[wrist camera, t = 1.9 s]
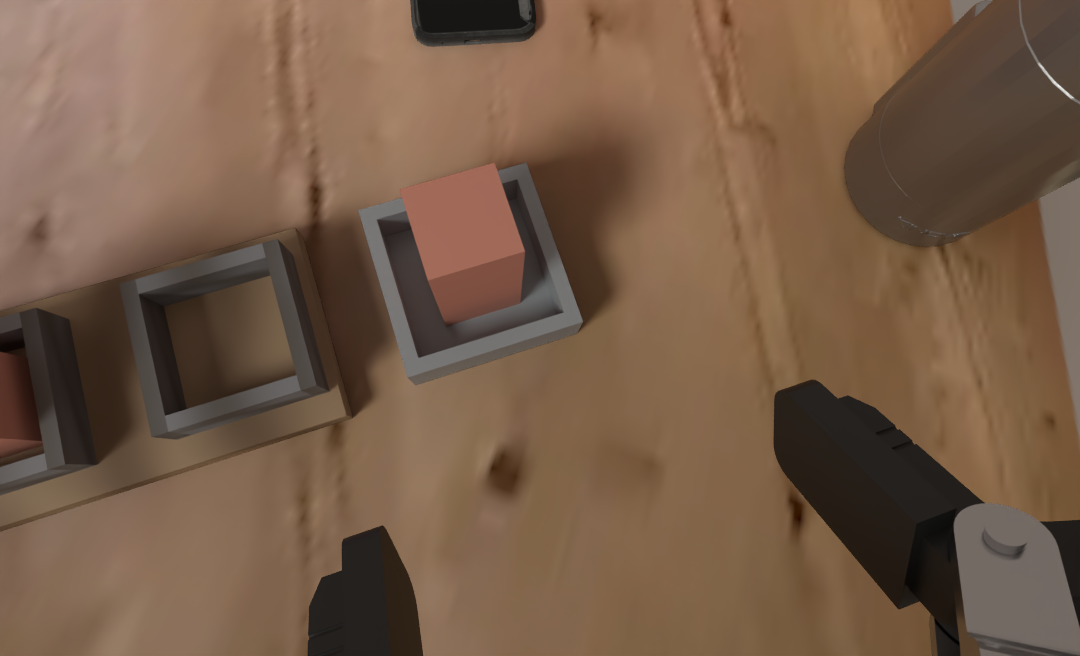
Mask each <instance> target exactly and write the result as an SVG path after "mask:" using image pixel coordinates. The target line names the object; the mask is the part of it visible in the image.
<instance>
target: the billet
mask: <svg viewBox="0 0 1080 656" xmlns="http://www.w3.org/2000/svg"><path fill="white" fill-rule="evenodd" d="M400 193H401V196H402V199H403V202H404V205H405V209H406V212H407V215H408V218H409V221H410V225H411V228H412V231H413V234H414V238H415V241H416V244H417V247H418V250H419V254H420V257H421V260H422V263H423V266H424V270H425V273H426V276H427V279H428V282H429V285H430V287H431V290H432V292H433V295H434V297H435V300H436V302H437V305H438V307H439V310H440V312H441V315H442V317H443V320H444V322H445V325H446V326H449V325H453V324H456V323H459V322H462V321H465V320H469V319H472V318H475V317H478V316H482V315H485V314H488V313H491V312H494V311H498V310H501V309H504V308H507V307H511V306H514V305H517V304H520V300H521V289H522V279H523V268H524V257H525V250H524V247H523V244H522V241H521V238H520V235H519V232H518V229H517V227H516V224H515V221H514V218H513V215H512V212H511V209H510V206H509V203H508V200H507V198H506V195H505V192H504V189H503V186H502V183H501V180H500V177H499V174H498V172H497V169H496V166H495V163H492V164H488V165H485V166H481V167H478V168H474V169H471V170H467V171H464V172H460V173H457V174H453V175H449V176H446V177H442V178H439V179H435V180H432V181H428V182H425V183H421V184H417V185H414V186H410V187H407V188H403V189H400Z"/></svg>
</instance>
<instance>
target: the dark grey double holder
mask: <svg viewBox="0 0 1080 656" xmlns="http://www.w3.org/2000/svg"><path fill="white" fill-rule="evenodd" d="M0 352H3V353H8V354H12V355H16V356H20V357H24V358H28V364H29V369H30V375H31V380H32V386H33V392H34V397H35V403H36V408H37V414H38V420H39V425H40V431H41V436H42V442H43V446H40V447H37V448H34V449H31V450H27V451H24V452H21V453H18V454H14V455H11V456H8V457H5V458H2V459H0V531H3V530H6V529H9V528H12V527H15V526H19V525H22V524H25V523H28V522H31V521H34V520H37V519H40V518H43V517H47V516H50V515H53V514H56V513H59V512H62V511H65V510H68V509H71V508H74V507H78V506H81V505H84V504H87V503H90V502H93V501H96V500H99V499H102V498H106V497H109V496H112V495H115V494H118V493H121V492H124V491H127V490H130V489H134V488H137V487H140V486H143V485H146V484H149V483H152V482H155V481H158V480H162V479H165V478H168V477H171V476H174V475H177V474H180V473H183V472H186V471H189V470H193V469H196V468H199V467H202V466H205V465H208V464H211V463H214V462H217V461H221V460H224V459H227V458H230V457H233V456H236V455H239V454H242V453H245V452H249V451H252V450H255V449H258V448H261V447H264V446H267V445H270V444H273V443H277V442H280V441H283V440H286V439H289V438H292V437H295V436H298V435H301V434H304V433H308V432H311V431H314V430H317V429H320V428H323V427H326V426H329V425H332V424H336V423H339V422H342V421H345V420H348V419H351V418H353V416H352V413H351V409H350V406H349V402H348V398H347V395H346V391H345V387H344V384H343V380H342V376H341V373H340V369H339V366H338V362H337V358H336V355H335V351H334V347H333V344H332V340H331V336H330V333H329V329H328V326H327V322H326V318H325V315H324V311H323V307H322V304H321V300H320V296H319V293H318V289H317V286H316V282H315V278H314V275H313V271H312V267H311V264H310V260H309V256H308V253H307V249H306V246H305V242H304V238H303V236H302V235H301V234H300V233H299V232H298V231H297V229H296V228H293V229H289V230H286V231H282V232H279V233H275V234H272V235H268V236H265V237H261V238H257V239H254V240H250V241H247V242H243V243H240V244H236V245H233V246H229V247H226V248H222V249H219V250H215V251H212V252H208V253H205V254H201V255H197V256H194V257H190V258H187V259H183V260H180V261H176V262H173V263H169V264H166V265H162V266H159V267H155V268H152V269H148V270H145V271H141V272H137V273H134V274H130V275H127V276H123V277H120V278H116V279H113V280H109V281H106V282H102V283H99V284H95V285H92V286H88V287H85V288H81V289H77V290H74V291H70V292H67V293H63V294H60V295H56V296H53V297H49V298H46V299H42V300H39V301H35V302H32V303H28V304H25V305H21V306H17V307H14V308H10V309H7V310H3V311H0Z"/></svg>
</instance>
